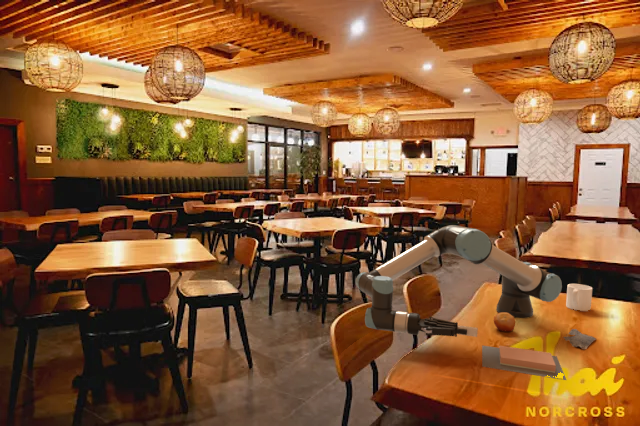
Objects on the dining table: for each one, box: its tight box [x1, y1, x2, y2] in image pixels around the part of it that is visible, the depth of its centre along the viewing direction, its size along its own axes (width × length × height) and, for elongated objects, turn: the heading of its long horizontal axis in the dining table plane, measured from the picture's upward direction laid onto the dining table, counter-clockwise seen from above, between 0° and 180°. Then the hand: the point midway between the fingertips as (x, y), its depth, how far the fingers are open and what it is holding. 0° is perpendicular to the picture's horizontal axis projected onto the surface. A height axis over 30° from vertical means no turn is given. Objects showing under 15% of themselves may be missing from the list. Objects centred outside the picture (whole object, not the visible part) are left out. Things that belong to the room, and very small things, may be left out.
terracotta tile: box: [498, 345, 556, 373], centre depth 141 cm, size 2×10×16 cm
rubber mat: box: [481, 345, 567, 381], centre depth 142 cm, size 24×18×1 cm
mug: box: [565, 283, 593, 312], centre depth 200 cm, size 13×10×10 cm
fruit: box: [493, 312, 516, 333], centre depth 171 cm, size 8×8×8 cm
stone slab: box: [562, 328, 597, 351], centre depth 162 cm, size 18×2×10 cm
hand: (477, 332), depth 146 cm, fingers closed
